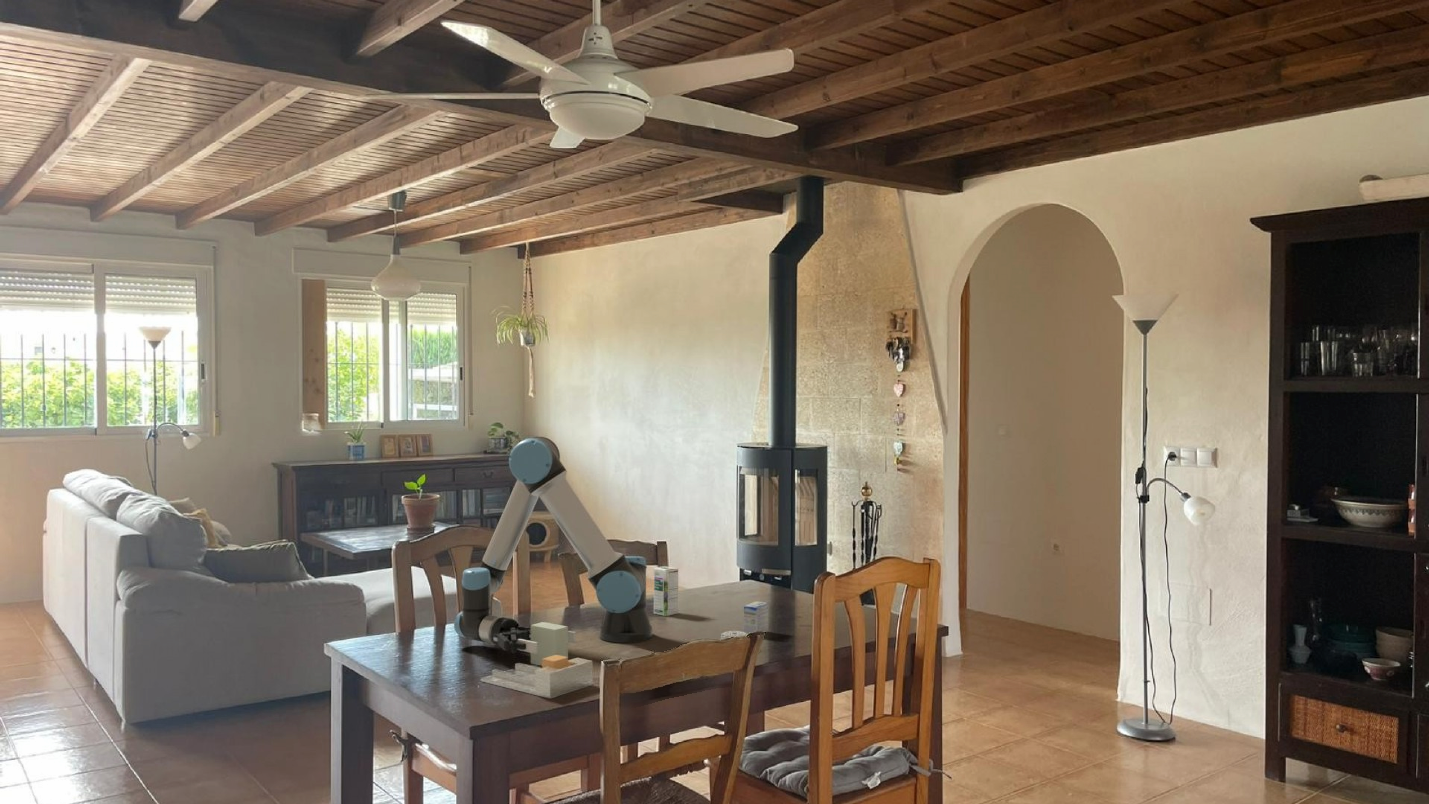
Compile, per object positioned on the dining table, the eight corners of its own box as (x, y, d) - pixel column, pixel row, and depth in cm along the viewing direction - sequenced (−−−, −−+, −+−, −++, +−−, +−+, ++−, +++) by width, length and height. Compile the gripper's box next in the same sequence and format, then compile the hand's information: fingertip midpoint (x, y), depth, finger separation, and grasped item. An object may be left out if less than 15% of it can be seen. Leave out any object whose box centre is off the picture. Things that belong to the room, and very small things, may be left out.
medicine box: (755, 630, 310) (755, 600, 310) (768, 632, 308) (768, 602, 308) (743, 636, 303) (743, 605, 303) (757, 637, 301) (757, 607, 301)
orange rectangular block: (556, 679, 255) (556, 654, 255) (568, 682, 252) (568, 657, 252) (542, 683, 251) (542, 658, 251) (554, 686, 249) (554, 661, 249)
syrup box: (652, 613, 332) (652, 567, 332) (666, 610, 336) (666, 565, 336) (665, 616, 328) (665, 570, 328) (679, 613, 333) (678, 567, 332)
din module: (543, 659, 277) (543, 621, 277) (567, 665, 272) (567, 626, 272) (530, 663, 274) (530, 625, 274) (555, 669, 268) (555, 629, 268)
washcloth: (635, 656, 282) (635, 644, 282) (685, 668, 271) (685, 656, 271) (603, 665, 273) (603, 653, 273) (653, 677, 262) (653, 665, 262)
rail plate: (523, 668, 268) (523, 646, 268) (592, 684, 254) (592, 660, 254) (480, 681, 257) (480, 657, 257) (550, 698, 243) (550, 673, 243)
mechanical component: (754, 653, 284) (751, 644, 294) (754, 637, 284) (751, 628, 294) (717, 654, 283) (715, 645, 293) (717, 637, 283) (715, 629, 293)
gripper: (534, 636, 294) (590, 647, 281) (463, 654, 274) (519, 667, 261) (534, 609, 294) (589, 619, 281) (463, 625, 274) (519, 637, 261)
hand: (556, 642), depth 271 cm, fingers open, 13 cm apart
